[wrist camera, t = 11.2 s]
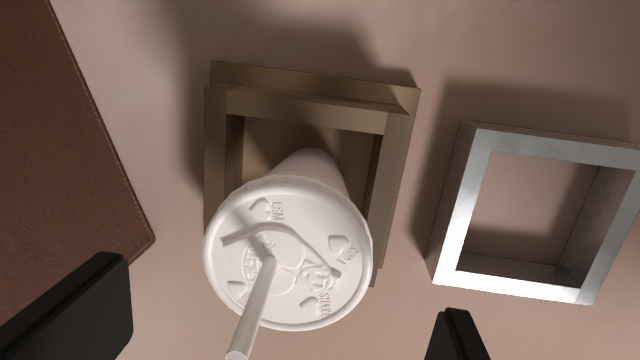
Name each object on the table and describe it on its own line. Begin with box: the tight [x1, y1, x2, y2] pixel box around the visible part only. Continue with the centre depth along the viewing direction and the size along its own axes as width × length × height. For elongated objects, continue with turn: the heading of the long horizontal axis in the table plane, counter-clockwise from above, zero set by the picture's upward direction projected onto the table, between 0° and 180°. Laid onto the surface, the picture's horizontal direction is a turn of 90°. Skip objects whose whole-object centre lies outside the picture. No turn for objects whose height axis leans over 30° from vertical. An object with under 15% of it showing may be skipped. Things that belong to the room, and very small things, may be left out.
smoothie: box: [202, 147, 373, 360], centre depth 15 cm, size 6×6×14 cm
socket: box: [204, 61, 421, 287], centre depth 20 cm, size 12×12×4 cm
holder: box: [424, 120, 640, 306], centre depth 21 cm, size 10×10×2 cm
